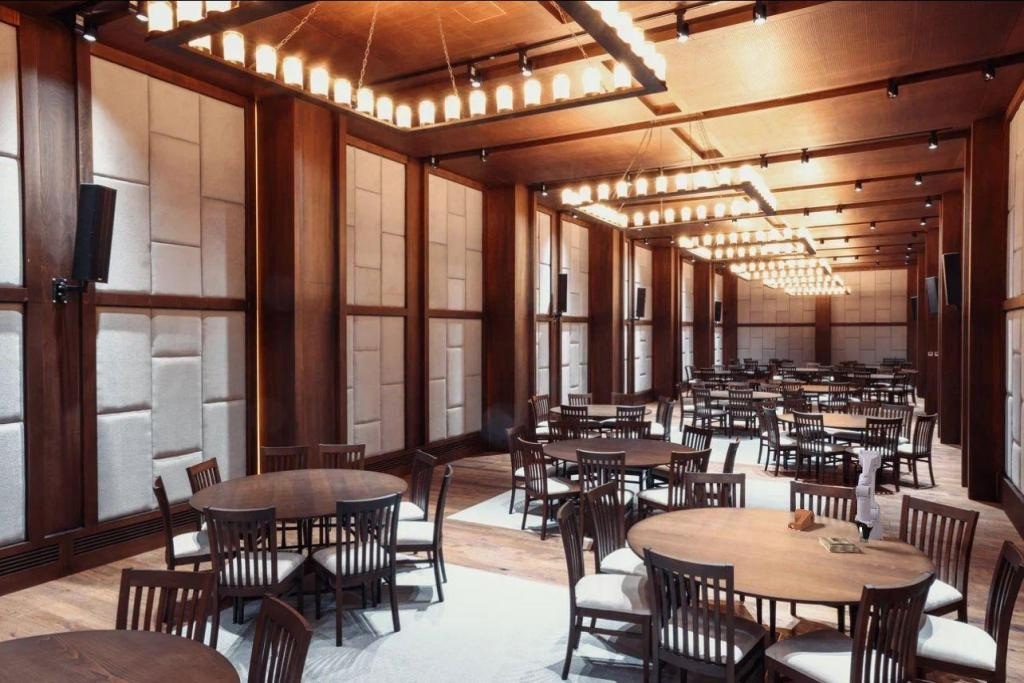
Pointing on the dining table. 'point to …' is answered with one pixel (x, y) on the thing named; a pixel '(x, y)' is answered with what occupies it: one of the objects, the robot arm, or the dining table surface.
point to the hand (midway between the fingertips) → (863, 537)
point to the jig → (838, 544)
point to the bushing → (862, 536)
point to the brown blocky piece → (802, 519)
